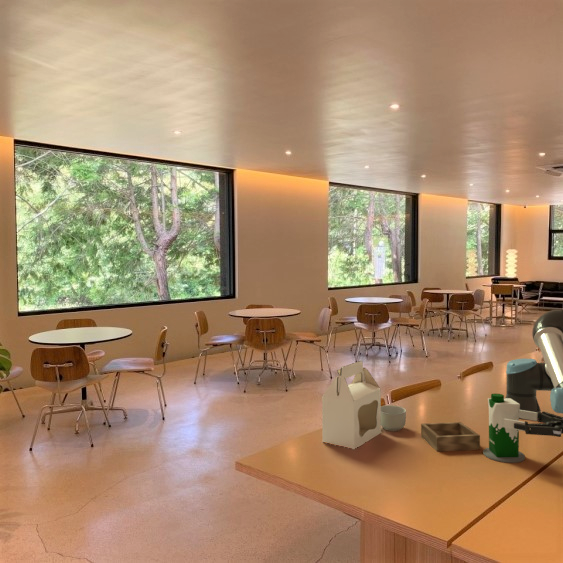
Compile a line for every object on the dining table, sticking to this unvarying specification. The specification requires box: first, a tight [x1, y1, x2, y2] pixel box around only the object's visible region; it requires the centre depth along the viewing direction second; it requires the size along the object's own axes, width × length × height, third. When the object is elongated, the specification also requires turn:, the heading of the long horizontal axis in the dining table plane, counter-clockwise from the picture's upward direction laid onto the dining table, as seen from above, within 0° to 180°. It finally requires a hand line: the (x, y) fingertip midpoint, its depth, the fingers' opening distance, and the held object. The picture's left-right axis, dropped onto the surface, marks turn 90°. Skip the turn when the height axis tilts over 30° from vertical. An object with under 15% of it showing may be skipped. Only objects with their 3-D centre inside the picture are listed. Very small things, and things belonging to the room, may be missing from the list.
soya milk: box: [487, 393, 520, 457], centre depth 175 cm, size 9×9×20 cm
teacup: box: [381, 404, 407, 432], centre depth 205 cm, size 14×11×8 cm
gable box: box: [321, 360, 382, 450], centre depth 194 cm, size 22×13×28 cm, turn 144°
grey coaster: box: [482, 447, 526, 464], centre depth 175 cm, size 13×13×1 cm
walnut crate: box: [420, 421, 481, 452], centre depth 188 cm, size 15×15×5 cm
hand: (510, 418), depth 173 cm, fingers open, 13 cm apart
